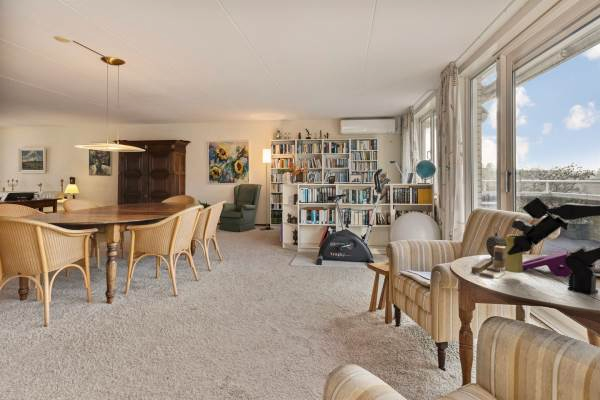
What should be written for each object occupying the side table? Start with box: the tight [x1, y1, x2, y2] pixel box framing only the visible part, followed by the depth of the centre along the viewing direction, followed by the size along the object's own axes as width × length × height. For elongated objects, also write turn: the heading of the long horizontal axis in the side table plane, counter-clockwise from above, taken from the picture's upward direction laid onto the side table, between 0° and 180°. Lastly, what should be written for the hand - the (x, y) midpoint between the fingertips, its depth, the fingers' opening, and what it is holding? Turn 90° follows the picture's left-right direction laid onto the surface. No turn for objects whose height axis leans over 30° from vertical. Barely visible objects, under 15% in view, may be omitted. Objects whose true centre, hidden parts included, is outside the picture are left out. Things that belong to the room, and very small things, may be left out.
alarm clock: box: [485, 226, 507, 259], centre depth 159 cm, size 11×5×16 cm, turn 179°
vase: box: [504, 234, 524, 274], centre depth 130 cm, size 6×6×14 cm
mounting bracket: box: [522, 249, 572, 278], centre depth 138 cm, size 9×8×18 cm
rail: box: [471, 245, 506, 279], centre depth 142 cm, size 11×24×9 cm, turn 134°
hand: (510, 252), depth 131 cm, fingers closed on vase, 5 cm apart
